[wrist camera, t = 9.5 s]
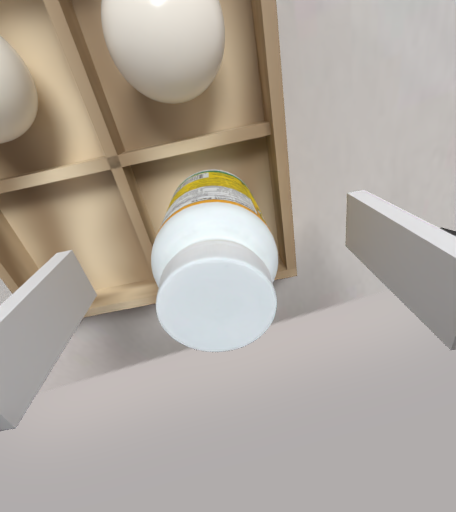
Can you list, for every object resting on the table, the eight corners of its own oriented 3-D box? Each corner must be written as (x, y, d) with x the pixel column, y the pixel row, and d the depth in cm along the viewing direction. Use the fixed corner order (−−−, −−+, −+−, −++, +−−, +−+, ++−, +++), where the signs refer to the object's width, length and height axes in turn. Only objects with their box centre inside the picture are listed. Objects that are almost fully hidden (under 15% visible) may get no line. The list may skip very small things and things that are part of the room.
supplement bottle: (180, 156, 15) (145, 213, 7) (266, 181, 16) (328, 258, 8) (164, 238, 18) (123, 354, 9) (240, 255, 19) (265, 374, 10)
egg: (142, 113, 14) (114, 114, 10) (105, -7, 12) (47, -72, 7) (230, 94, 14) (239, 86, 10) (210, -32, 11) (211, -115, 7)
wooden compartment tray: (59, 298, 20) (37, 326, 18) (-141, -9, 12) (-241, -43, 9) (285, 253, 20) (297, 275, 17) (250, -109, 11) (262, -177, 8)
